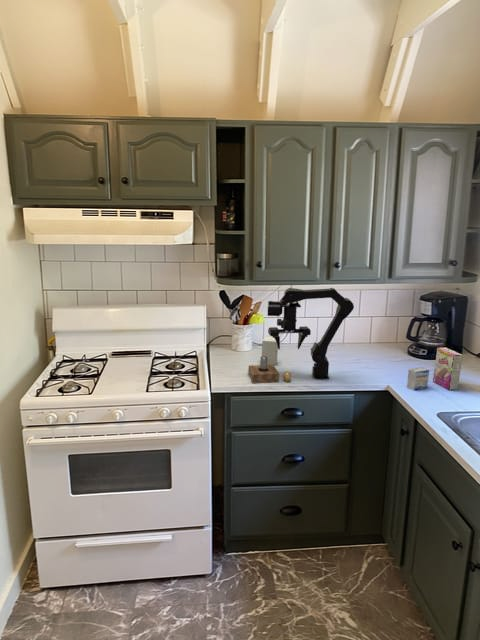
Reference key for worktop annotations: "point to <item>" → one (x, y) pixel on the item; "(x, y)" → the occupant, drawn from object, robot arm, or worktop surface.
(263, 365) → the long pin
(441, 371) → the candy bar box
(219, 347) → the worktop surface
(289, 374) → the short pin
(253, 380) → the hole block
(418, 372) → the medicine box
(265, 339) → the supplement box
